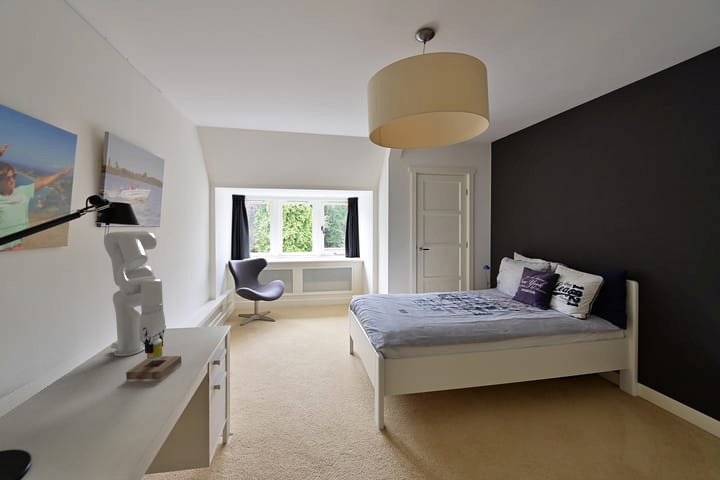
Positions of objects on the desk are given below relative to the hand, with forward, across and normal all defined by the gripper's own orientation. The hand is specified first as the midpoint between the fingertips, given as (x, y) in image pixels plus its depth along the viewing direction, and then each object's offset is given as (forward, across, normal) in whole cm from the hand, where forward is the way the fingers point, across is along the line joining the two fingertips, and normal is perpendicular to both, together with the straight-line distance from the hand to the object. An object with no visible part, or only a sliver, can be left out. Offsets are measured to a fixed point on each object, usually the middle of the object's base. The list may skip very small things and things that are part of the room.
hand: (154, 349), depth 127 cm
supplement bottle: (+4, 0, 0) cm, 4 cm away
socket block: (+10, 0, 0) cm, 10 cm away
